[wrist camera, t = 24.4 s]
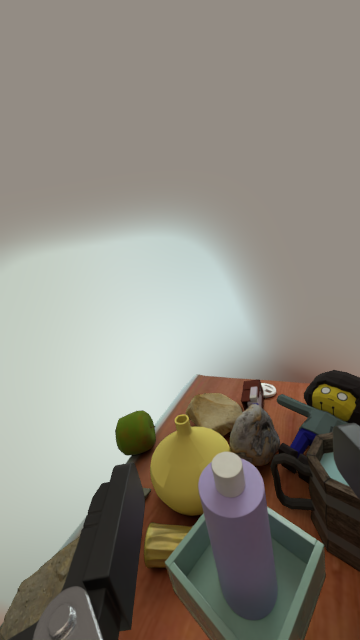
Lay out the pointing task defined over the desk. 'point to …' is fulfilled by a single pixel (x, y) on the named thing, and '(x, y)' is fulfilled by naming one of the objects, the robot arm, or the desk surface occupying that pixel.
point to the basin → (291, 572)
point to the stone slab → (38, 592)
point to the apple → (135, 433)
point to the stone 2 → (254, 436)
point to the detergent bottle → (239, 534)
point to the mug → (326, 499)
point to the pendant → (268, 388)
